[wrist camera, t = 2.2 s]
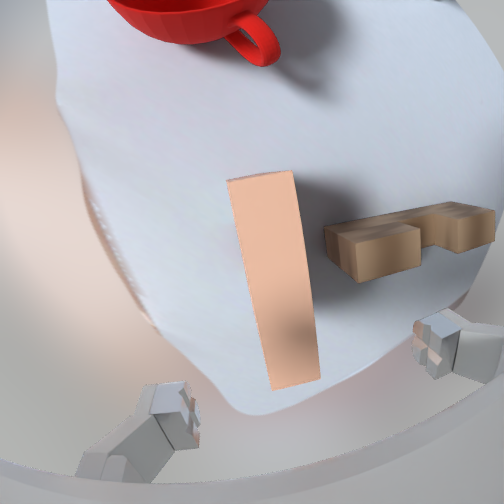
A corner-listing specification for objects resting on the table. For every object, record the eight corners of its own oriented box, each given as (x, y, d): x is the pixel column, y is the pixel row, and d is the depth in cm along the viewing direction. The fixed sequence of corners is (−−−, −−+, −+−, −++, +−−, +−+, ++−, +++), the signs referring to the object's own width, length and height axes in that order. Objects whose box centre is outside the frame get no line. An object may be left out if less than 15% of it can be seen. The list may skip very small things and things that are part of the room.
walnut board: (451, 201, 27) (495, 210, 20) (452, 227, 28) (494, 241, 21) (323, 226, 27) (355, 243, 20) (327, 257, 27) (358, 283, 21)
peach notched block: (260, 173, 25) (292, 170, 13) (283, 301, 28) (320, 378, 16) (226, 180, 25) (227, 182, 13) (253, 308, 28) (272, 390, 16)
